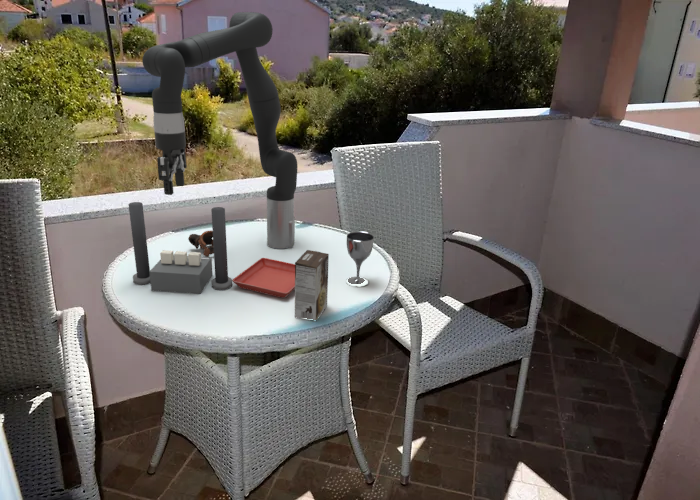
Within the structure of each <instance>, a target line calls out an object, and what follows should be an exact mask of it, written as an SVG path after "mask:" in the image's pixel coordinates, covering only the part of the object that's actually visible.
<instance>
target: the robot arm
mask: <svg viewBox="0 0 700 500" xmlns="http://www.w3.org/2000/svg"><path fill="white" fill-rule="evenodd" d="M273 31H274V30H273V25H272V22H271V19H270V18H269V17H268V16H267V15H265V14H263V13H261V12H254V11H253V12H252V11H245V12H244V11H242V12H241V11H239V12H236V13H234V14H233V15H232V16H231V17H230V20H229V27H227V28H222V29H216V30H210V31H205V32H201V33H197V34H194V35H191V36H189V37H186V38H183V39H181V40H177V41H173V42H166V43H162V44H156V45H154V46H151V47H149V48H148V49H147V50H146V51H145V52H144V53H143V55H142V61H141V62H142V66H143V69H145V71H146V72H147V73H149V74H150V75H152V76H154V77H158V78H160V81H159V87H156V88H154V89H153V90H152V93H151V99H152V100H151V101H152V108H153V109H152V110H153V119H152V120H153V129H154V130H153V131H154V140H155V142H154V143H155V147H156V149H158V150H161V151H162V156H158V157H157V158H156V161H157V171H158V172H157V173H158V174H157V175H158V181H162V182H163V193H164V195H168V196H173V194H174V193H175V192H174V183H173V178H174V177H175V178H174V180H175V186H177V187H184V186H185V175H184V174H185V170H186V169H187V167H188V165H187V157H186V156H187V155H186V146H187V141H186V130H185V118H184V115H183V114H184V113H183V104H182V102H183V101H182V92H183V87H184V82H185V74H186V68H194V67H198V66H201V65H204V64H206V63H207V62H211V61H214V60H216V59H218V58H221V57H223V56H226V55H229V54H233V53H235V54H236V56H237V60H238V63H239V66H240V70H241V74H242V77H243V81H244V86H245V89H246V92H247V97H248V99H247V100H248V105H249V107H250V112H251V114H252V118H253V123H254V129H255V134H256V138H257V143H258V152H259V160H260V164H261V165H260V166H261V169H262V171H263V172H264V173H265V174H266V175H268V176H270V177H273V178H275V185H274V186H270V187H268V188H267V189H266V234H267V236H266V244H267V246H268V247H270V248H272V249H277V250H278V249H283V250H285V249H292V248H293V247H294V244H295V243H296V242H295V241H296V240H295V239H296V238H295V237H296V236H295V235H296V225H295V222H296V217H295V192H296V190H297V189H296V188H297V185H298V184H297V183H298V181H297V180H298V159H297V157H296V156H295V153H293V152H289V151H288V150H284V149H280V147H279V145H278V141H277V140H278V139H277V131H276V130H277V126H278V124H279V121H280V117H281V114H282V112H281V111H282V109H281V103H280V97H279V93H278V92H279V91H278V89H277V86H276V84H275V82H274V81H273V79H272V78H271V76H270V75H269V73H268V72H267V70H266V69H265V68H264V66H263V64H262V62H261V60H260V57H259V54H258V51H257V49H258V48H261V47H264V46H266V45H267V44H268V43H270V41H271V39H272V37H273Z"/></svg>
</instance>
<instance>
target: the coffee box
mask: <svg viewBox="0 0 700 500" xmlns="http://www.w3.org/2000/svg"><path fill="white" fill-rule="evenodd" d="M329 255H330V254H329V253H326V252H321V251H317V250H311V249H306V251H305V252H304V253H303V254H301V256H300V257H299V258H298V259H297V260H296V261H295V262H294V264H295V289H294V318H296V317H297V318H296V319H300V318H307V319H313V320H317V319H318V320H319V318H320V317H321V315H322V314H323V313H322V312H324V311H325V310H326V308H327V307H328V290H329V289H328V286H329ZM324 309H325V310H324ZM321 313H322V314H321ZM319 316H320V317H319ZM318 317H319V318H318ZM318 320H317V321H318Z"/></svg>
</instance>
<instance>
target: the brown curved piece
mask: <svg viewBox="0 0 700 500" xmlns="http://www.w3.org/2000/svg"><path fill="white" fill-rule="evenodd" d="M187 238H188V239H187V240H188V242H189V243H190V244H191V245H192V246H193V247H194V248H195V249H196V250H198V249H199V248H200V249H203V257H210V255H214V247H213V230H205V231H204V232H203V233H202V234H197V233H190V235H189V237H187ZM207 246H208V247H207Z"/></svg>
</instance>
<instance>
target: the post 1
mask: <svg viewBox="0 0 700 500" xmlns="http://www.w3.org/2000/svg"><path fill="white" fill-rule="evenodd" d="M128 212H129V219H130V220H129V221H130V227H131V229H130V230H131V236H132V237H131V238H132V244H133V254H134V261H135V269H136V273H135V274H133V275H132V281H133V284H135V285H138V286H146V285H151V283H150V274H149V271H150V270H151V269H150V260H149V251H148V243H147V242H148V241H147V231H146V224H145V215H144V213H145V212H144V205H143V202H140V201H133V202H130V203H128Z"/></svg>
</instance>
